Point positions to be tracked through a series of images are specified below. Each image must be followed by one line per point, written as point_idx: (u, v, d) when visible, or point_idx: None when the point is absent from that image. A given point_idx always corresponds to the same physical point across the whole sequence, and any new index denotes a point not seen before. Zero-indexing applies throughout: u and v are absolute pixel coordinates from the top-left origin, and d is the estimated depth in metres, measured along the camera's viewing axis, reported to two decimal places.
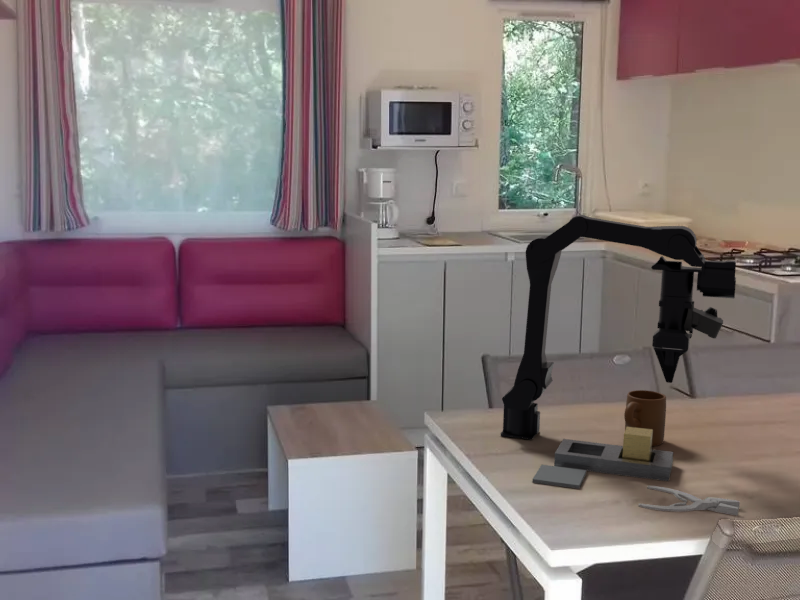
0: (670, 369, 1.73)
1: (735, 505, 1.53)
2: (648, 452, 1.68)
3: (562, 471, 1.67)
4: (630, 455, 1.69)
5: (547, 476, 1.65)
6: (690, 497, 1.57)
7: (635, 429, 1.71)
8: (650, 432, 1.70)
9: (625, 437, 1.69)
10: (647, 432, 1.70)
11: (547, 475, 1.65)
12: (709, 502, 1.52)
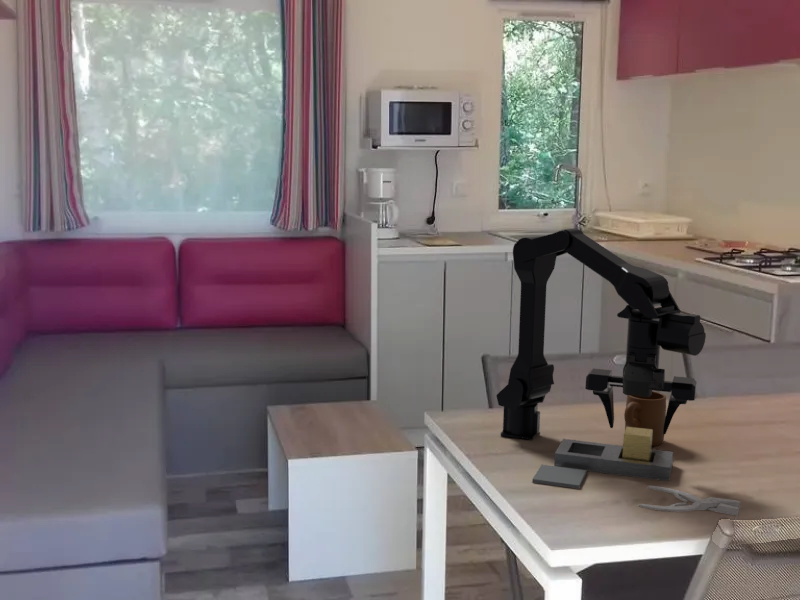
0: None
1: (735, 505, 1.53)
2: (648, 452, 1.68)
3: (562, 471, 1.67)
4: (630, 455, 1.69)
5: (547, 476, 1.65)
6: (690, 497, 1.57)
7: (635, 429, 1.71)
8: (650, 432, 1.69)
9: (625, 437, 1.69)
10: (647, 432, 1.70)
11: (547, 475, 1.65)
12: (710, 502, 1.52)
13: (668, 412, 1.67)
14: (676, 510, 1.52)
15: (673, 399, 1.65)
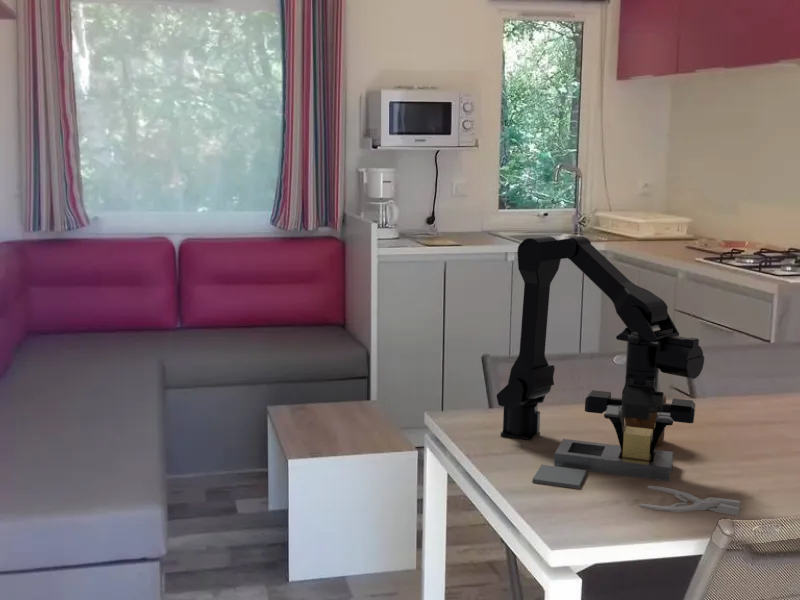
0: None
1: (736, 505, 1.53)
2: (648, 452, 1.68)
3: (562, 471, 1.67)
4: (630, 455, 1.69)
5: (547, 476, 1.65)
6: (691, 497, 1.57)
7: (635, 429, 1.71)
8: (650, 432, 1.69)
9: (625, 437, 1.69)
10: (647, 431, 1.70)
11: (547, 475, 1.65)
12: (710, 502, 1.52)
13: (655, 432, 1.68)
14: (676, 510, 1.52)
15: (659, 420, 1.66)
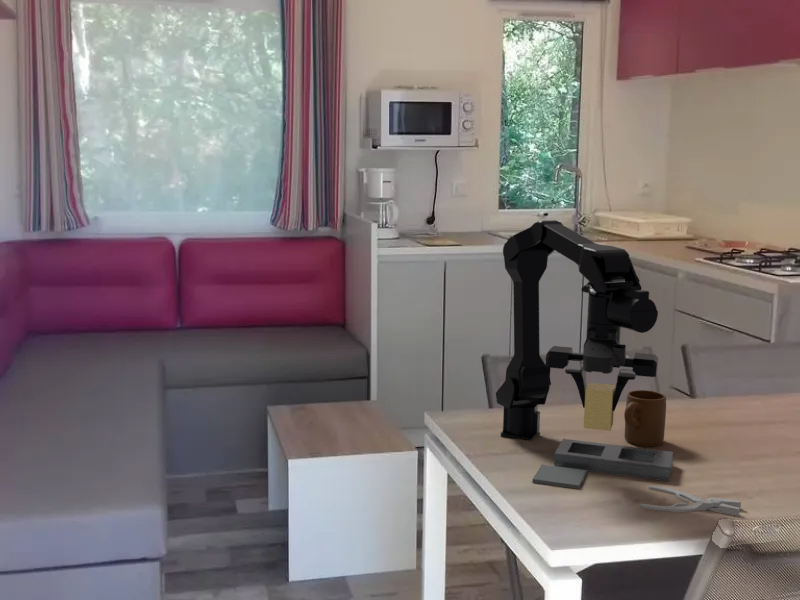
0: None
1: (736, 505, 1.53)
2: (610, 407, 1.63)
3: (562, 471, 1.67)
4: (592, 411, 1.64)
5: (547, 476, 1.65)
6: (691, 497, 1.57)
7: (597, 385, 1.67)
8: (612, 387, 1.65)
9: (587, 392, 1.64)
10: (610, 387, 1.65)
11: (547, 475, 1.65)
12: (710, 503, 1.52)
13: (617, 388, 1.63)
14: (677, 510, 1.52)
15: (622, 375, 1.62)
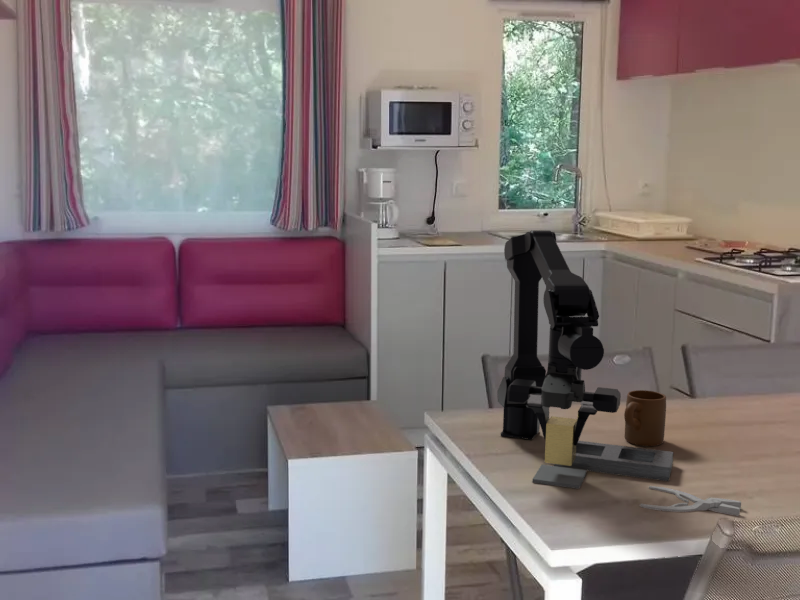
0: None
1: (737, 505, 1.53)
2: (571, 442, 1.62)
3: (562, 471, 1.67)
4: (553, 446, 1.63)
5: (547, 476, 1.65)
6: (691, 497, 1.57)
7: (559, 419, 1.65)
8: (574, 422, 1.64)
9: (548, 427, 1.63)
10: (571, 421, 1.64)
11: (547, 475, 1.65)
12: (711, 503, 1.52)
13: (578, 422, 1.62)
14: (677, 510, 1.52)
15: (582, 409, 1.60)
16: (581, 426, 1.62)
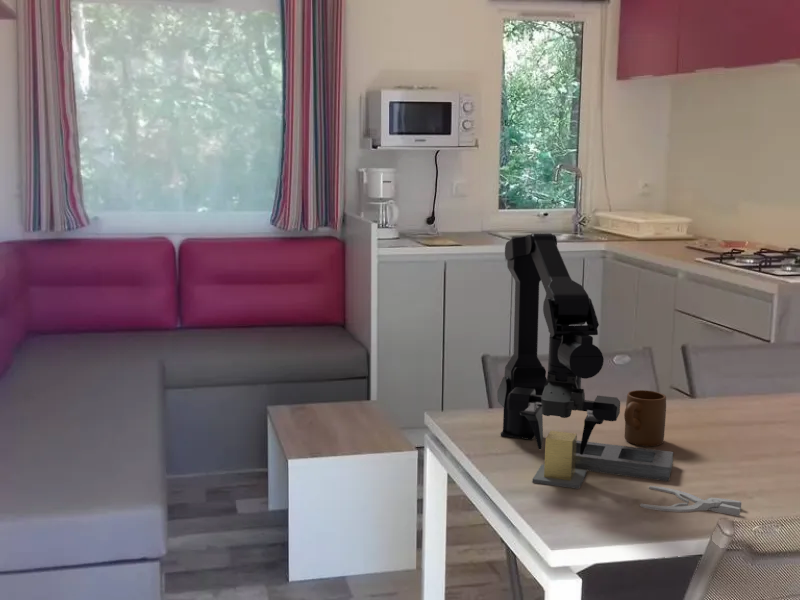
0: None
1: (737, 505, 1.53)
2: (570, 457, 1.62)
3: None
4: (553, 461, 1.63)
5: None
6: (692, 497, 1.57)
7: (558, 433, 1.66)
8: (573, 436, 1.64)
9: (547, 442, 1.63)
10: (570, 436, 1.64)
11: None
12: (711, 503, 1.52)
13: (584, 432, 1.62)
14: (677, 510, 1.51)
15: (589, 419, 1.60)
16: (587, 435, 1.62)
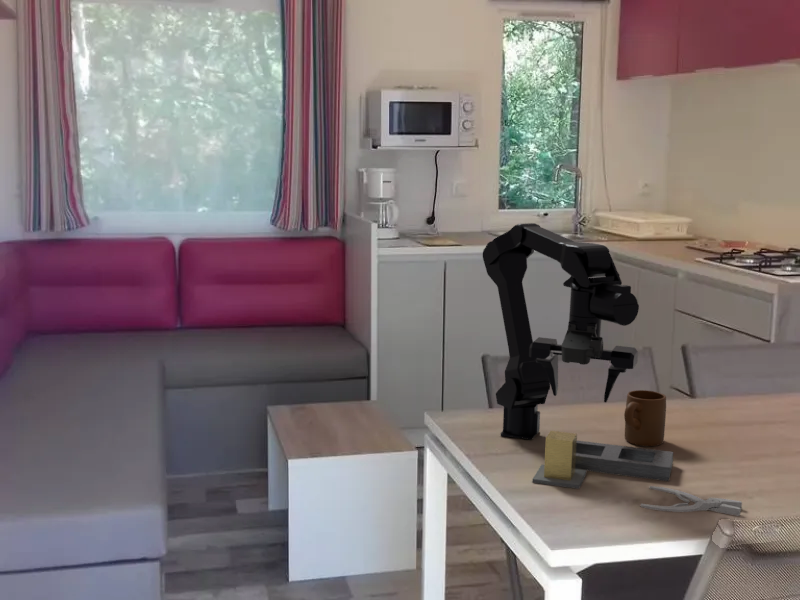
0: None
1: (737, 505, 1.53)
2: (570, 457, 1.62)
3: None
4: (553, 461, 1.63)
5: None
6: (692, 497, 1.57)
7: (558, 433, 1.66)
8: (573, 436, 1.64)
9: (547, 442, 1.63)
10: (570, 436, 1.64)
11: None
12: (711, 503, 1.52)
13: (609, 380, 1.70)
14: (678, 510, 1.51)
15: (613, 367, 1.68)
16: (611, 383, 1.69)
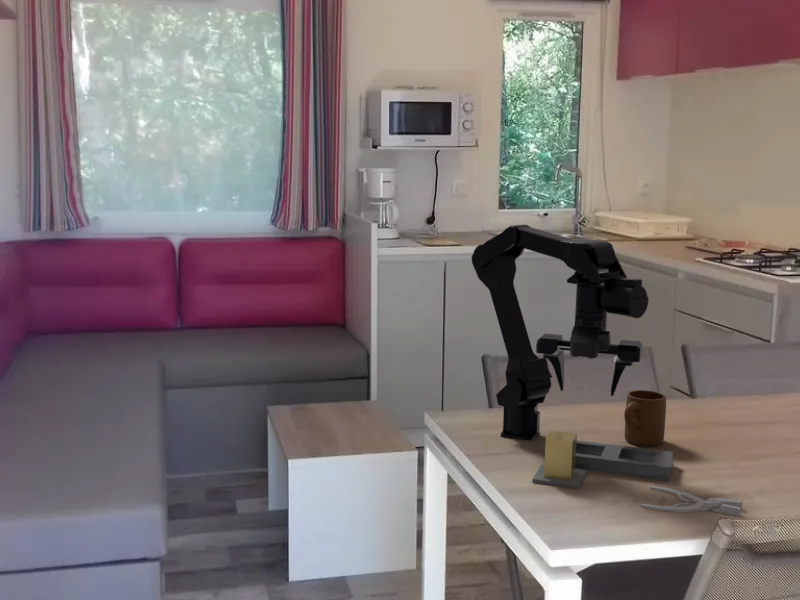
0: None
1: (738, 505, 1.53)
2: (570, 457, 1.62)
3: None
4: (553, 461, 1.63)
5: None
6: (693, 497, 1.57)
7: (558, 433, 1.66)
8: (573, 436, 1.64)
9: (547, 442, 1.63)
10: (570, 436, 1.64)
11: None
12: (712, 503, 1.52)
13: (615, 374, 1.73)
14: (678, 510, 1.51)
15: (619, 361, 1.71)
16: (618, 377, 1.72)
